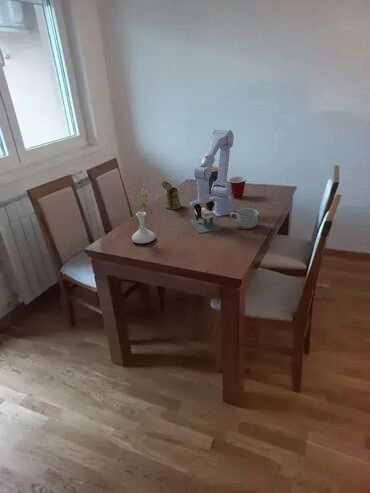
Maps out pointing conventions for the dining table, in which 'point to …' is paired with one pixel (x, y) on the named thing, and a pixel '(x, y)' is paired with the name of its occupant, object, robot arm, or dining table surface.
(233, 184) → the plastic cup
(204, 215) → the cream block with tabs
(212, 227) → the mat
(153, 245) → the dining table surface
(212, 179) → the canister
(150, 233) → the flower in vase
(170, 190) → the wooden mug
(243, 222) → the teacup
